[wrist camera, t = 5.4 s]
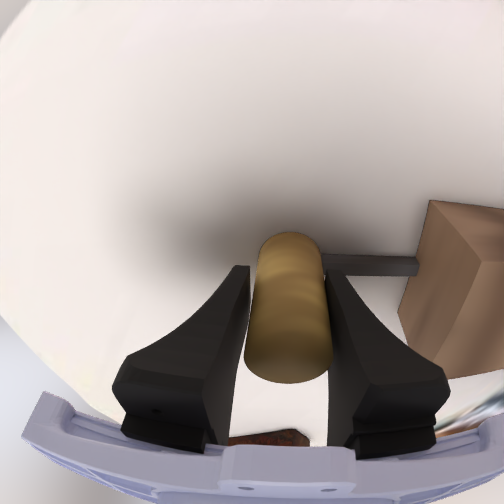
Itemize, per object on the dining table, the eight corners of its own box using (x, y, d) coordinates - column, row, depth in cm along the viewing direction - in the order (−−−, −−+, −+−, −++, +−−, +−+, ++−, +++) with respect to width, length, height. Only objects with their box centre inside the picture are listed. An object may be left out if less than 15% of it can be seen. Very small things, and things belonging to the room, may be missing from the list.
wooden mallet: (514, 211, 12) (578, 277, 7) (475, 309, 15) (510, 382, 10) (257, 190, 13) (237, 275, 8) (259, 310, 17) (247, 405, 12)
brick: (293, 425, 25) (290, 469, 21) (310, 437, 26) (309, 477, 23) (206, 437, 29) (199, 474, 25) (228, 449, 30) (222, 483, 27)
